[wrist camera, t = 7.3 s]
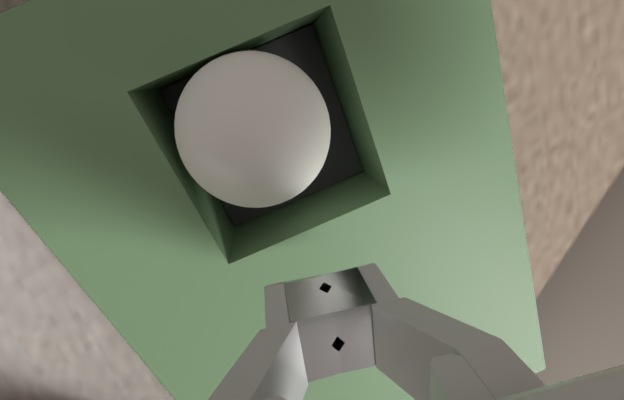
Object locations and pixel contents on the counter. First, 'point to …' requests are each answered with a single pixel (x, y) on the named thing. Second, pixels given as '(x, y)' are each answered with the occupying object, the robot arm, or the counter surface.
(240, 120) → the rubber ball
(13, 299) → the counter surface
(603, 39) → the counter surface
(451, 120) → the putting deck
